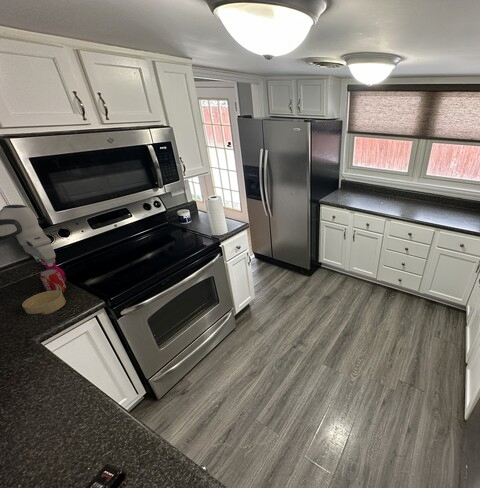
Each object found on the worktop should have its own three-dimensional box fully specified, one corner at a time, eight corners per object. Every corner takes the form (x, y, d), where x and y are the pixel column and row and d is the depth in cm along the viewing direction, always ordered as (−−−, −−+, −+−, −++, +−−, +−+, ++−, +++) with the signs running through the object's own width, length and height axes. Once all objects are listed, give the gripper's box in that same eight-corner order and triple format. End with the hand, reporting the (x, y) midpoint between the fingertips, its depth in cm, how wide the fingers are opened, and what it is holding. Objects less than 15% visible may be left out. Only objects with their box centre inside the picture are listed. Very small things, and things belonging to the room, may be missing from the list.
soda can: (66, 293, 135) (56, 273, 130) (47, 297, 132) (36, 277, 126) (68, 286, 140) (59, 267, 135) (50, 290, 137) (40, 270, 131)
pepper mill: (65, 276, 148) (49, 245, 139) (69, 281, 145) (53, 249, 136) (47, 282, 143) (30, 249, 134) (51, 287, 139) (34, 254, 130)
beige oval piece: (36, 321, 117) (31, 311, 114) (21, 312, 121) (16, 302, 119) (72, 304, 128) (68, 294, 125) (57, 296, 132) (52, 287, 130)
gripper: (11, 236, 124) (25, 261, 130) (34, 245, 117) (47, 271, 123) (29, 231, 129) (42, 256, 135) (52, 239, 122) (64, 265, 128)
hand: (45, 263), depth 129 cm, fingers open, 8 cm apart
